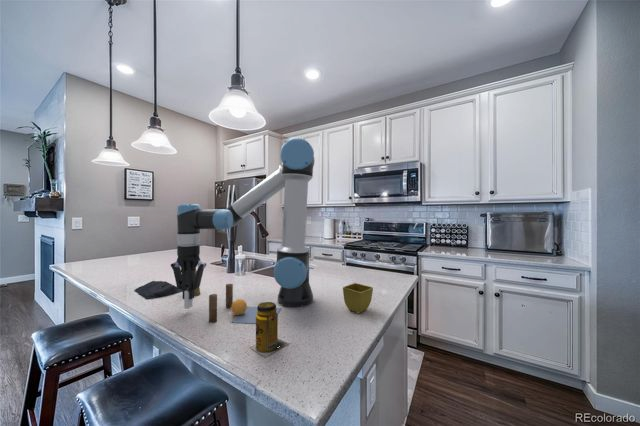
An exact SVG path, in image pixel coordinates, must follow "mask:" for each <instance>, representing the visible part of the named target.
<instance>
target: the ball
mask: <svg viewBox="0 0 640 426" xmlns="http://www.w3.org/2000/svg"><path fill="white" fill-rule="evenodd" d="M247 307H248V305H247V302H246V301H245V300H244V299H242V298H239V299H236V300H234V301H233V304H232V306H231V308H230V309H231V313H233V314H234V315H236V316H238V315H241V314H243V313H244V312H245V311H246V309H247Z"/></svg>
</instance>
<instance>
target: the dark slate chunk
mask: <svg viewBox="0 0 640 426" xmlns="http://www.w3.org/2000/svg"><path fill="white" fill-rule="evenodd" d="M133 291H134V292H135V293H136V294H138V295H139V296H140V297H142V298H144V299H145V300H155V299H159V298H165V297H170V296H173V295H176V294H181V293H183V291H182V290H181V289H178V288H177V285H176V286H175V284H172V283H170V282H168V281H163V280H158V281H157V280H152V281H150V282H147V283H145V284H144V285H141V286H139V287H137V288H135V289H134V290H133Z"/></svg>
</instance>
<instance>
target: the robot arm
mask: <svg viewBox="0 0 640 426" xmlns="http://www.w3.org/2000/svg"><path fill="white" fill-rule="evenodd" d="M279 153H280V160H281V164H280V165H279V166H278V169H277V170H275V171H273V173H271V174H270V175H269V176H268V177H266V178H265V179H263V180H262V181H261V182H259V183H258V184H256V186H254V187H253V188H251V189H250V190H249V191H248V192H246V193H245V194H244V195H242V196H241V197H240V198H238V199H237V200H236V201H234V202H233V203H232V204H230V205H229V206H228V207H226V208H225V209H224V208H222V209H221V208H219V209H217V208H216V209H215V208H213V209H202V208H201V205H200V204H199V203H196V204H195V203H180V204H179V205H178V206H177V215H176V218H177V235H176V236H177V237H176V244H177V246H176V254H177V255H176V256H177V258H176V261H175V262H173V263H171V264H170V267H171V268H172V270H173V275H174V279H175V285H176V287H177V288H178V289H181V290H182V291H183V292H182V299H183V300H184V302H183V303H184V307H183V308H184V309H186V310H189V309H191V308H192V307H193V301H194V300H193V299H194V298H195V297H194V290H195V289H197V288H200V286H201V283H202V282H201V281H202V278H203V273H204V269H205V268H206V266H207V263H206V262H202V261H201V258H200V254H201V252H200V251H201V245H199V244H200V243H201V242H200V241H201V240H200V239H201V237H200V236H201V235H200V233H201V230H219V231H220V230H229V229H231V228H233V227H237V225H238V224H239V223H240V221H242V220H243V219H244V218H246V216H248V215H249V214H251V213H252V212H253V211H255V210H256V209H258V208H259V207H260V206H261V205H263V204H264V203H266V202H267V201H268V200H269V199H271V198H272V197H274V196H275V195H276V194H278V193H279V192H281V190H283V189H284V193H283V195H284V196H283V213H282V214H283V215H282V216H283V217H282V230H281V231H282V232H281V244H280V246H278V248H276V262H275V265H274V268H273V278H274V280H275V281H276V284H278V285H279V286H280V288H279V291H278V295H277V303H278V304H279V305H280V306H283V307H289V308H300V307H304V306H308V305H310V304H312V303H313V302H312V301H314V294H313V293H314V292H313V291H312V287H311V284H310V249H309V248H308V247H306V244H305V243H306V224H307V212H308V211H307V208H308V193H309V182H310V181H312V179H313V177H314V175H313V172H314V165H315V157H314V156H315V152H314V148H313V146H312V145H311V144H310V143H309V142H308V141H307V140H306V139H304V138H301V137H300V138H299V137H293V138H290V139H288V140H287V141H285V142H284V143H283V144H282V146H281V149H280V152H279ZM196 270H197V273H196V277H195V271H196Z"/></svg>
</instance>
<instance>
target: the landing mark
mask: <svg viewBox="0 0 640 426" xmlns="http://www.w3.org/2000/svg"><path fill="white" fill-rule="evenodd" d="M281 310H282V307H276V313H277V315H278V316H279V313H280V312H281ZM256 315H257V306H247V309H246V311H245V312H244V313H243V314H241V315H236V317H235V318H234V319H233V320H232V321H231V323H232V324H247V325H248V324H251V325H253V324H254V325H256Z"/></svg>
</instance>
